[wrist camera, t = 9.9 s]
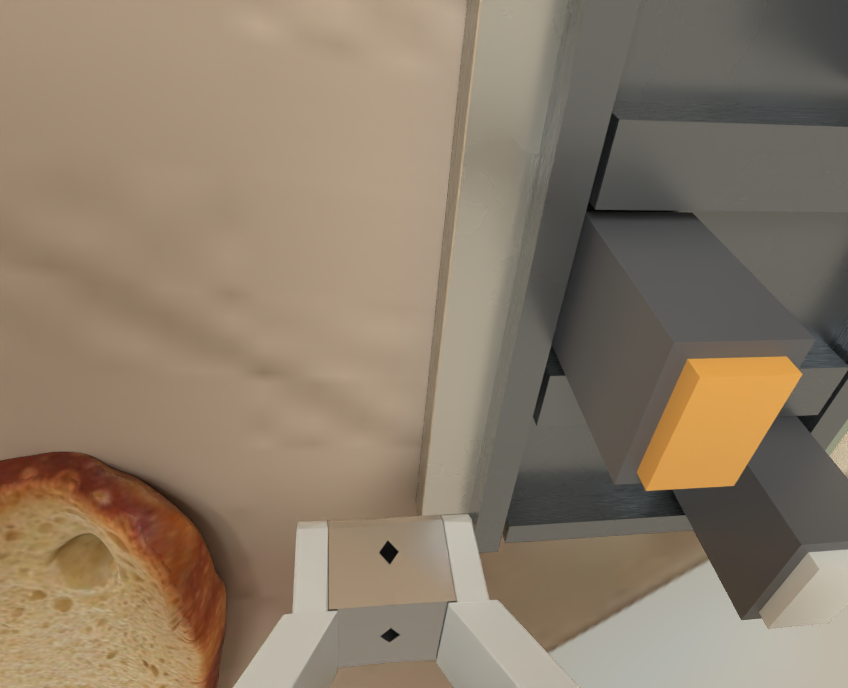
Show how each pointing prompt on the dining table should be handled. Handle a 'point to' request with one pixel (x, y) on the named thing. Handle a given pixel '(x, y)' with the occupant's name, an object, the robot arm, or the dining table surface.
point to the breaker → (778, 530)
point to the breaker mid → (673, 350)
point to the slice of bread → (102, 581)
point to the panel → (622, 192)
